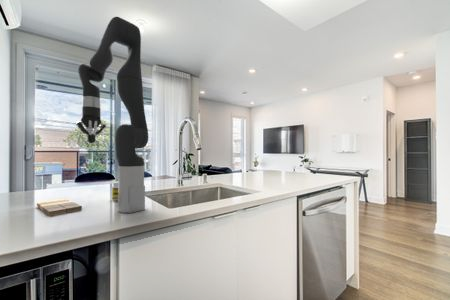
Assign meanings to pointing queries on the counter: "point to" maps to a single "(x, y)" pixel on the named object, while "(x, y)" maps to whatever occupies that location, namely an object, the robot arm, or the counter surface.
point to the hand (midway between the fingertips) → (91, 142)
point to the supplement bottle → (115, 191)
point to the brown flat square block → (61, 208)
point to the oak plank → (52, 203)
